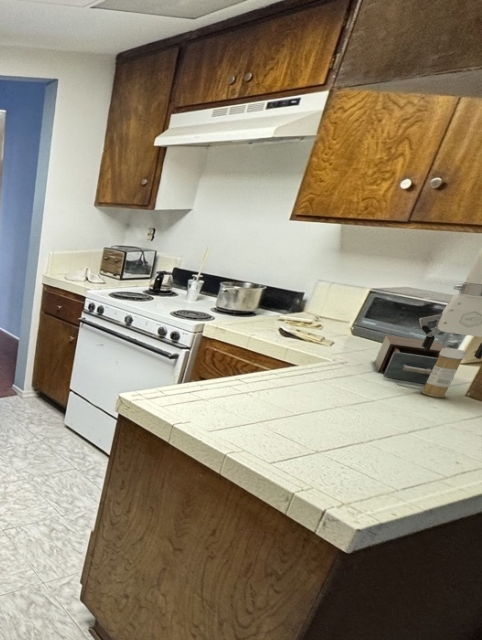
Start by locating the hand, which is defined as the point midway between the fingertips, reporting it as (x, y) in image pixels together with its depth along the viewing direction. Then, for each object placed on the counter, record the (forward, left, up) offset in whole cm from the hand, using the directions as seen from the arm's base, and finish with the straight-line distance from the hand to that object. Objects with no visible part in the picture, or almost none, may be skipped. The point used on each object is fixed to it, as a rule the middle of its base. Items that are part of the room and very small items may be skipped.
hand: (450, 353), depth 128 cm
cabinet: (+4, -24, -12) cm, 27 cm away
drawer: (+4, -13, -11) cm, 18 cm away
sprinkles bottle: (0, 0, -12) cm, 12 cm away
